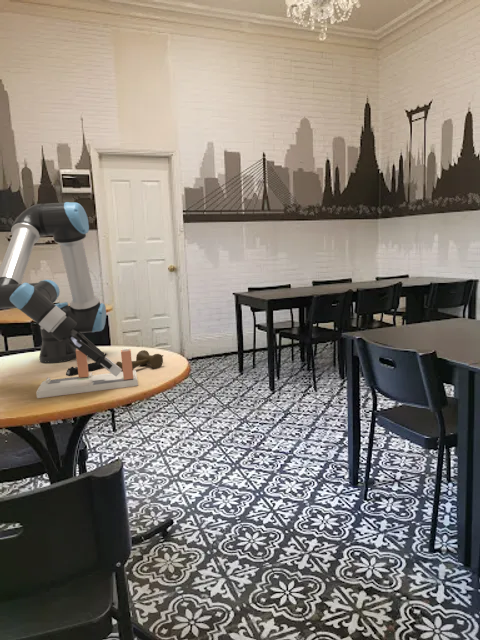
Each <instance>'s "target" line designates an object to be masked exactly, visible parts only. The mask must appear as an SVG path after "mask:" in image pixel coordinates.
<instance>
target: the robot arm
mask: <svg viewBox="0 0 480 640" xmlns="http://www.w3.org/2000/svg"><path fill="white" fill-rule="evenodd" d="M89 230H90V225H89V219H88V215H87V213H86V210H85V209H84V206H82V205H81V204H80V203H78V202H69V201H64V202H52V203H51V202H50V203H37V204H36V203H35V204H33V205H32V206H29V207H28V208H26V209H24V210H23V211H22V212H21V213H20V214H19V215H18V216H17V217H16V219H14V221H13V224H12V226H11V230H10V233H11V238H10V241H9V244H8V246H7V249H6V251H5V254H4V256H3V259H2V262H1V264H0V310H2V309H5V310H6V309H17V310H20V312H22V313H23V314H25V315H26V316H27V317H29V318H30V319H31V320H32V321H34V322H35V323H36V324H37V325H39V326H40V327H39V329H40V335H41V341H42V342H41V347H40V352H39V363H43V364H51V363H52V364H53V363H54V364H55V363H63V362H67V361H72V360H75V359H77V358H76V349H78V350H79V351H81V352H82V353H84V354H85V355H86V356H87V358H89V359H91V360H92V361H93V362H94V363H95V362H96V363H97V365H99V364H101V365H102V366H103V367H102V368H104V369H105V370H107V371H108V372H109V373H112V374H113V375H114V376H117V375H118V374H119V373H120V372H121V371H122V369H121V368H120V367H119V366H117V365H116V362H113V361H112V360H111V359H110V358H109V357H107V355H108V353H107V352H105V353H104V351H102V350H101V349H100V348H99V347H98V346H96V344H94V343H93V342H92V341H91V340H89V339H88V337H86V336H85V334H84V333H95V332H102V331H103V330H104V329H105V325H106V319H107V309H106V308H107V307H106V305H105V303H103V302H100V298H99V297H98V296H96V295H95V292H94V287H93V283H92V278H91V273H90V270H89V269H90V268H89V264H88V260H87V254H86V250H85V245H84V240H85V239H86V238H87V234H88V233H89ZM46 236H53V241H54V243H56V244H58V246H60V253H61V256H62V260H63V264H64V269H65V272H66V277H67V282H68V285H69V290H70V295H71V297H72V300H71V301H70V303H68V302H66V301H65V302H61V303H55V302H56V300H57V299H58V298H59V296H60V292H61V291H60V288H59V285H58V283H56V282H55V281H53V280H51V279H43V280H40V281H38V282H23V280H24V276H25V273H26V271H27V267H28V265H29V261H30V258H31V255H32V252H33V249H34V246H35V244H36V243H37V242H38V241H39V240H40V238H41V237H46Z"/></svg>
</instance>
